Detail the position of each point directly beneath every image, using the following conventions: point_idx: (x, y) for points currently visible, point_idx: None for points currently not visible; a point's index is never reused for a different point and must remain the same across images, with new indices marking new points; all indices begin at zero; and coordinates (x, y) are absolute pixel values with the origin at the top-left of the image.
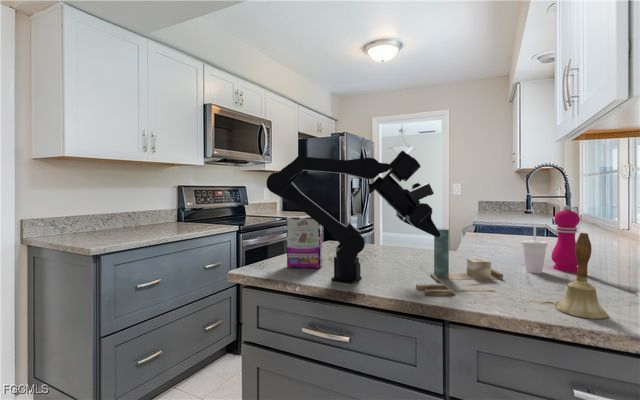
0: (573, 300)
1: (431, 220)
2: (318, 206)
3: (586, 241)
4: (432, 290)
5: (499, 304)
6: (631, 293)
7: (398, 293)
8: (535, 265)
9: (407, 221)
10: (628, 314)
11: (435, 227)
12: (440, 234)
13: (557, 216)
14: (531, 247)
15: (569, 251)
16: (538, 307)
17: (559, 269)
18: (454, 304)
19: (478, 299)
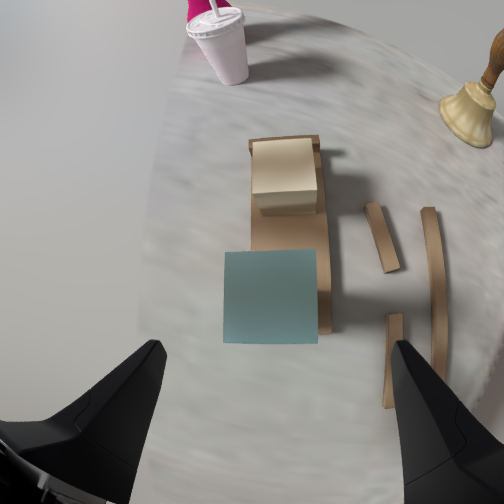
0: (488, 125)
1: (488, 437)
2: None
3: None
4: (441, 370)
5: (478, 230)
6: (344, 26)
7: None
8: (245, 59)
9: (122, 494)
10: (450, 80)
11: (447, 389)
12: (406, 341)
13: None
14: (234, 30)
15: (226, 6)
16: (472, 167)
17: None
18: (489, 327)
19: (460, 262)
